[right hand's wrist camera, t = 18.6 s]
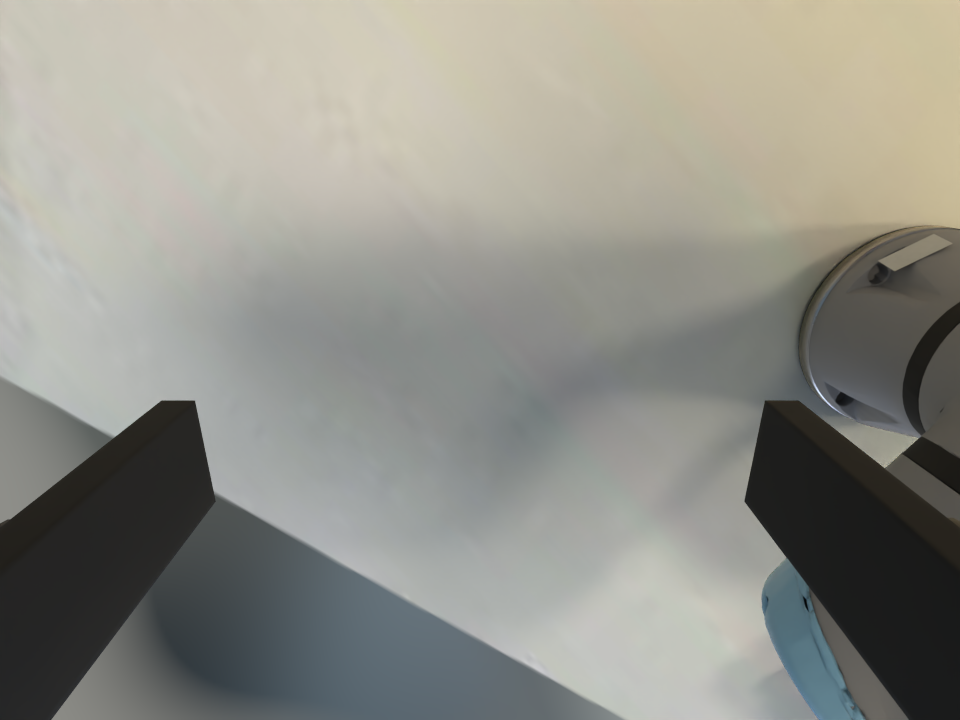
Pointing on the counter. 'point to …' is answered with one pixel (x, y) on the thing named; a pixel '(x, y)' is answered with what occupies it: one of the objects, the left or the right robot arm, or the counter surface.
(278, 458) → the counter surface
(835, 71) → the counter surface
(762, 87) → the counter surface
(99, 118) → the counter surface
